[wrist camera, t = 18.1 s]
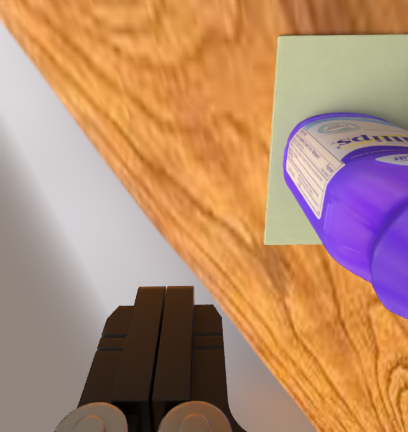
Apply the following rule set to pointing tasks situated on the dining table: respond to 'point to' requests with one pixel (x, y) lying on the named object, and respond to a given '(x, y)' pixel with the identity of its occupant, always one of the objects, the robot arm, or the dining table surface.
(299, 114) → the mat
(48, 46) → the dining table surface
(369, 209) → the bottle
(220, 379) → the robot arm
